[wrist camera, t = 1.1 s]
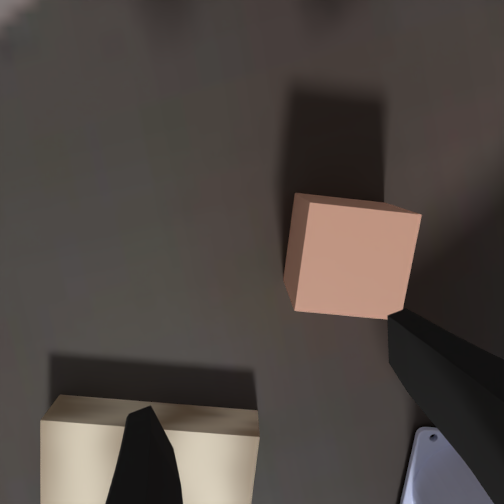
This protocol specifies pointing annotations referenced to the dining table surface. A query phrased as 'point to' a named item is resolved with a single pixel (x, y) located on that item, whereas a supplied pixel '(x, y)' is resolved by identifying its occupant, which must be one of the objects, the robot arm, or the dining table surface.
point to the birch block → (178, 432)
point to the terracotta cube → (349, 256)
